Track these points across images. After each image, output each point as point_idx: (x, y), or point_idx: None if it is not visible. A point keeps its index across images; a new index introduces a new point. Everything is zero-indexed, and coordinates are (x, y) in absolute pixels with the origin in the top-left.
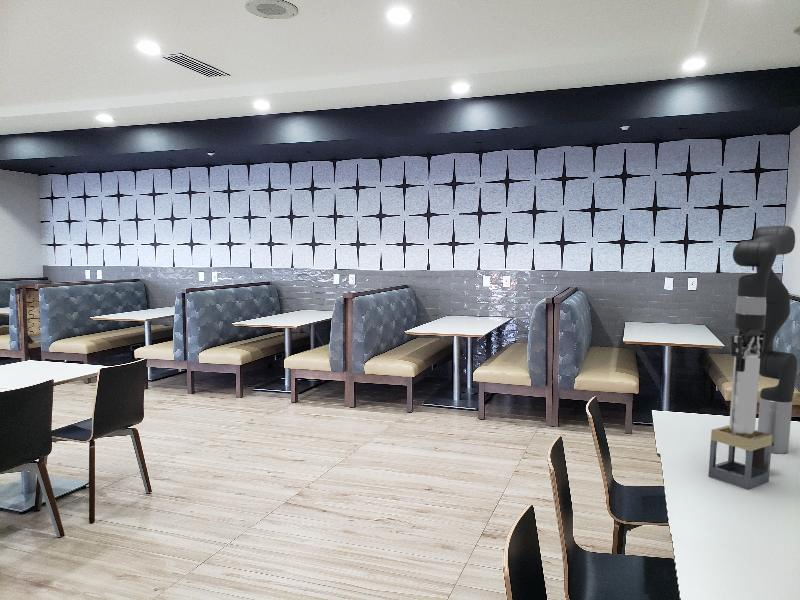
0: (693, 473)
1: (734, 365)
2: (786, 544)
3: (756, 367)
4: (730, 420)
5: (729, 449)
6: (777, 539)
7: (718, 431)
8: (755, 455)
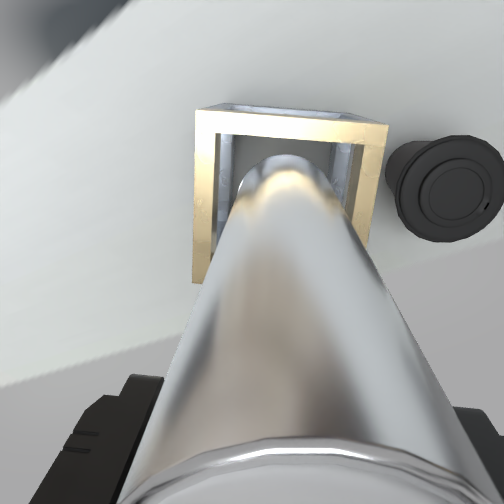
0: (208, 57)
1: (184, 363)
2: (4, 375)
3: None
4: (246, 183)
5: (347, 118)
6: (8, 360)
7: (198, 144)
8: (394, 189)
